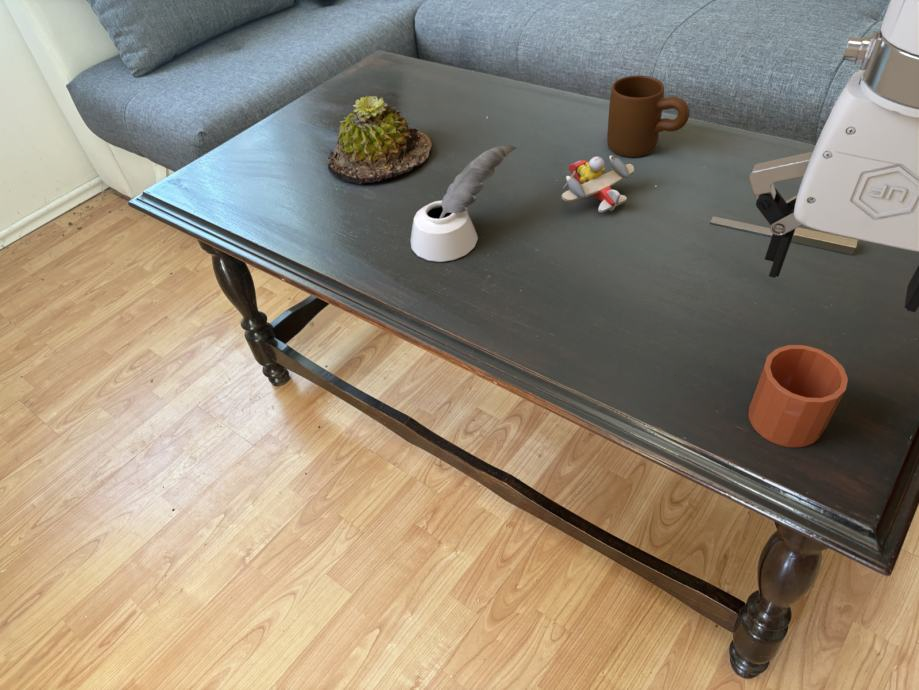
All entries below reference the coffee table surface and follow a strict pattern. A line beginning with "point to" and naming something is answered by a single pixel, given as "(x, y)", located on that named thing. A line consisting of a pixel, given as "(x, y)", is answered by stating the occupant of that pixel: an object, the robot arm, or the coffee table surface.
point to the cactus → (376, 144)
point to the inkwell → (454, 212)
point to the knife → (797, 236)
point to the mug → (640, 115)
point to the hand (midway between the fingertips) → (841, 282)
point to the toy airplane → (597, 182)
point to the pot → (796, 395)
